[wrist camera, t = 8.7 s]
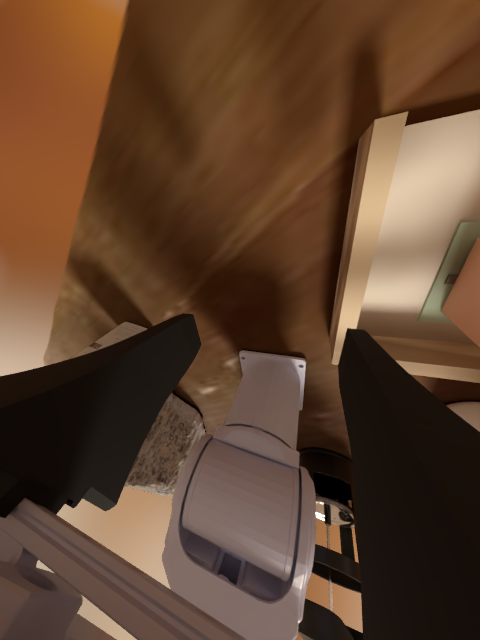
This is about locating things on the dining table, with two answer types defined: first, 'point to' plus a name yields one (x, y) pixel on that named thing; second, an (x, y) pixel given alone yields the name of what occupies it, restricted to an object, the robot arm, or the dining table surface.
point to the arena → (411, 242)
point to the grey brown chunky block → (166, 448)
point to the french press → (333, 508)
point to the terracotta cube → (466, 297)
